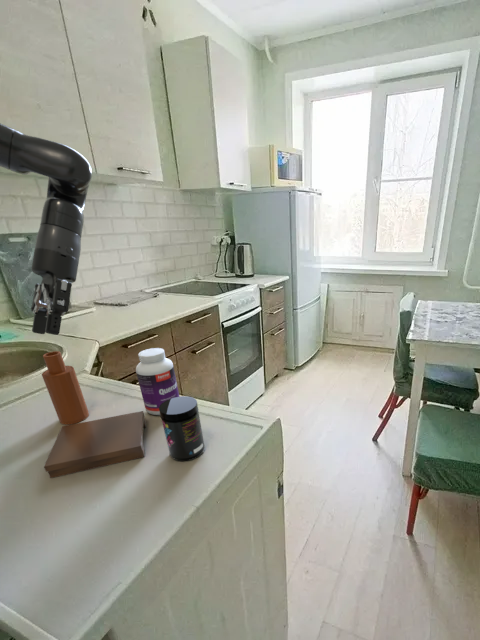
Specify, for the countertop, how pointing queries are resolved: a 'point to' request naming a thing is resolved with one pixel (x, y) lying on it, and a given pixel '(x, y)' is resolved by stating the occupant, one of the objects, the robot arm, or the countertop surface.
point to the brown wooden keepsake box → (97, 444)
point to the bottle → (64, 389)
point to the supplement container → (182, 427)
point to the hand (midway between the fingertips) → (44, 333)
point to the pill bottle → (156, 379)
